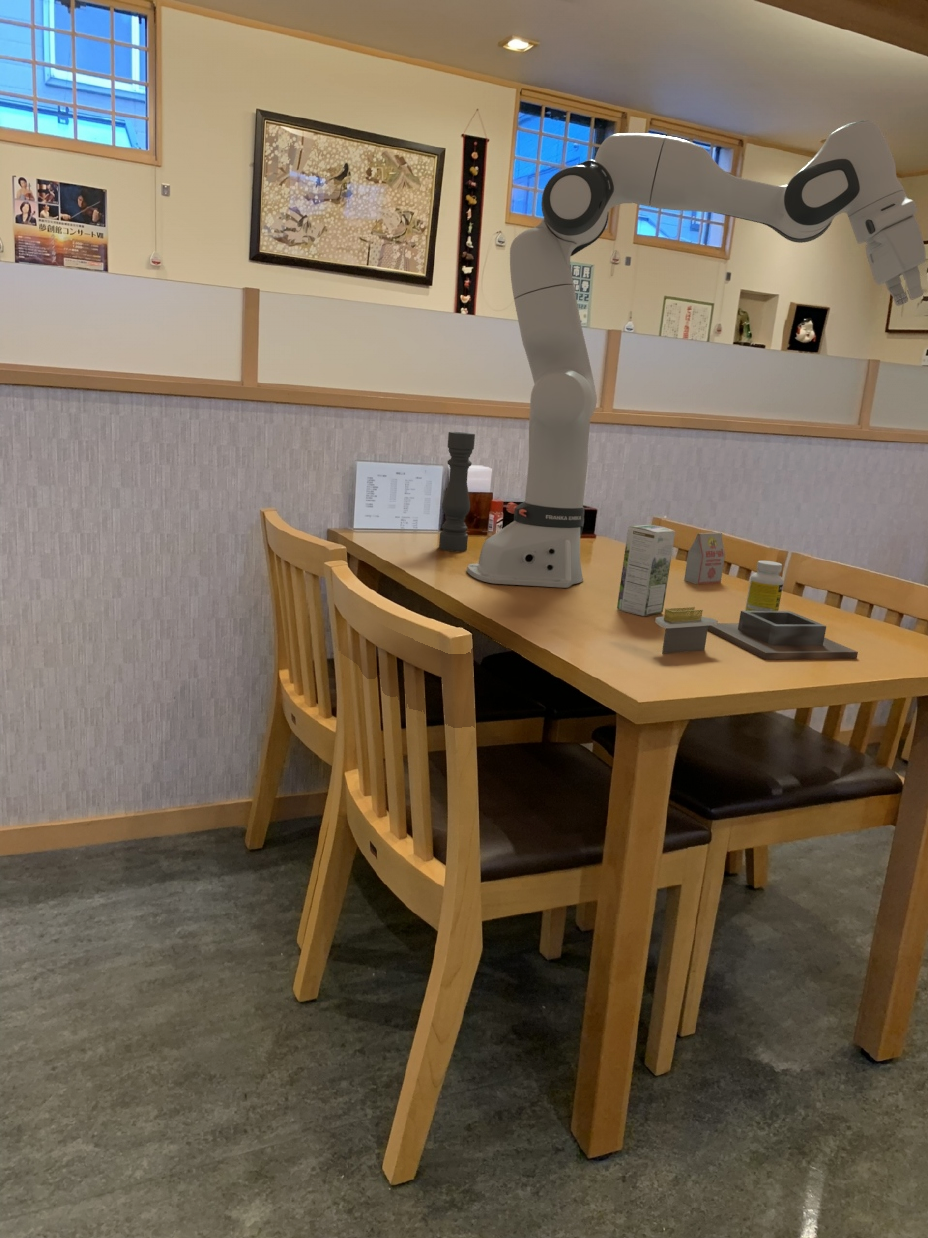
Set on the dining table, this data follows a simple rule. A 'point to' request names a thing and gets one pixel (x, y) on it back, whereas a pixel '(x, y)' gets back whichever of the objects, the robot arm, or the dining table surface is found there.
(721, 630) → the socket holder
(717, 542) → the tea bag
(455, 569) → the dining table surface
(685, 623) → the platform
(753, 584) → the supplement bottle
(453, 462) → the dark gray baluster
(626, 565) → the syrup box
